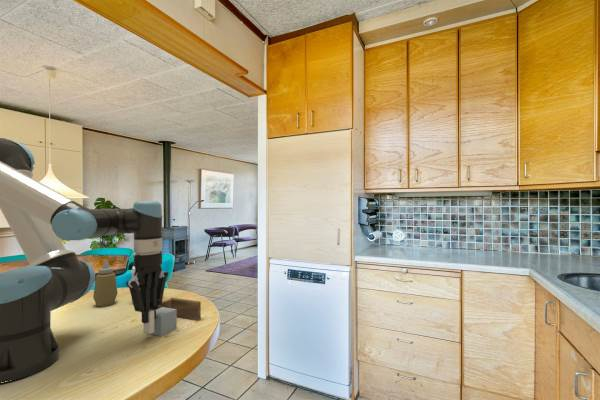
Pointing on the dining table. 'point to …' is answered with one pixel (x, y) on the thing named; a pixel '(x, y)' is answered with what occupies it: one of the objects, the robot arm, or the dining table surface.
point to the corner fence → (184, 308)
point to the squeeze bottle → (105, 286)
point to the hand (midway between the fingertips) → (149, 332)
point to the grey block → (165, 321)
